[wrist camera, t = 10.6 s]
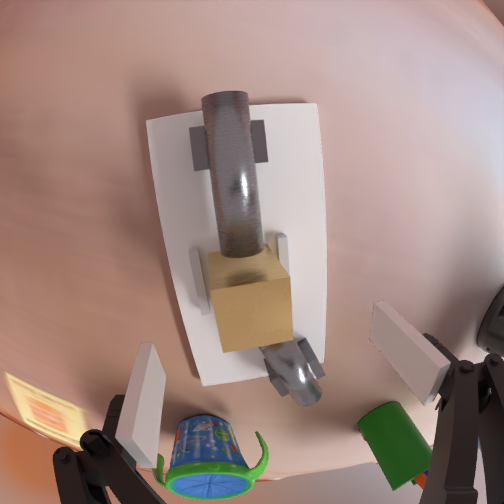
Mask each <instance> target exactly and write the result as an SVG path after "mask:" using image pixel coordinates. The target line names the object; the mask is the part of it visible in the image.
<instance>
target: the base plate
mask: <svg viewBox="0 0 504 504" xmlns="http://www.w3.org/2000/svg"><path fill="white" fill-rule="evenodd" d="M249 110H250V118H251V120H263V119H264V125H265V134H266V144H267V153H268V162H265V163H255V164H256V173H257V182H258V192H259V202H260V211H261V221H262V231H263V241H264V244H267V245H268V246H269V248H270V249H271V250H272V252H273V253H274V255H275V256H276V257H277V259H278V260H279V261H280V263H281V264H282V266H283V267H284V269H285V270H286V271H287V273H288V274H289V276H290V279H291V299H292V322H293V336H294V338H295V340H296V342H298V341H300V340H302V339H304V338H306V339H307V341H308V342H309V344H310V346H311V348H312V350H313V351H314V353H315V355H316V357H317V359H318V361H319V363H324V350H325V331H326V301H327V237H326V207H325V188H324V172H323V159H322V147H321V137H320V127H319V118H318V109H317V104H316V103H289V104H262V105H249ZM146 126H147V135H148V144H149V152H150V160H151V167H152V174H153V181H154V187H155V194H156V200H157V206H158V211H159V217H160V222H161V227H162V233H163V238H164V243H165V247H166V252H167V257H168V261H169V266H170V270H171V275H172V279H173V283H174V287H175V291H176V295H177V299H178V303H179V307H180V311H181V315H182V318H183V322H184V326H185V329H186V333H187V336H188V340H189V343H190V347H191V350H192V353H193V357H194V360H195V363H196V366H197V369H198V372H199V376H200V379H201V382H202V385H203V386H209V385H216V384H223V383H230V382H236V381H242V380H248V379H253V378H259V377H264V376H269V375H268V372H267V369H266V366H265V362H264V358H265V357H264V355H263V354H262V352H261V351H260V349H259V347H256V348H250V349H245V350H239V351H233V352H227V353H223V351H222V346H221V342H220V337H219V332H218V328H217V323H216V318H215V313H214V308H213V303H212V298H211V293H210V283H209V262H208V253H209V252H216V251H221V250H220V244H219V237H218V230H217V223H216V216H215V209H214V202H213V195H212V187H211V180H210V172H209V169H207V170H201V171H194V167H193V159H192V151H191V143H190V134H189V128H191V127H197V126H204V121H203V112H202V110H200V111H193V112H187V113H181V114H175V115H169V116H164V117H159V118H154V119H149V120H146Z"/></svg>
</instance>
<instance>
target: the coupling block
mask: <svg viewBox="0 0 504 504" xmlns="http://www.w3.org/2000/svg"><path fill="white" fill-rule="evenodd" d="M208 262H209V283H210V293H211V298H212V303H213V308H214V313H215V318H216V323H217V328H218V332H219V337H220V342H221V346H222V351H223V353H227V352H233V351H239V350H245V349H250V348H256V347H261V346H266V345H271V344H276V343H281V342H286V341H290V340H293V322H292V299H291V279H290V276H289V274H288V273H287V271H286V270H285V269H284V267H283V266H282V264H281V263H280V261H279V260H278V259H277V257H276V256H275V255H274V253H273V252H272V250H271V249H270V248H269V246H268V245H267V244H264V250H263V251H262V252H261V253H259V254H257V255H254V256H250V257H245V258H228V257H224V256H222V255H221V251H216V252H209V253H208Z"/></svg>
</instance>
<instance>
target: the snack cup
mask: <svg viewBox="0 0 504 504" xmlns="http://www.w3.org/2000/svg"><path fill="white" fill-rule="evenodd" d="M255 433H256V436H257V438H258V440H259V443H260V446H261V447H262V450H263V451H262V452H263V454H262V458H261V459H260V461H259V462H258V464H257V465H256V466H255V467H254V468H252V469H249V467H248V465H247V464H246V462H245V460H244V459H243V457H242V454H241V453H240V449H239V447H238V444H237V441H236V438H235V436H234V433H233V430H232V428H231V426H230V424H229V423H228V422H225V421H224V420H222V419H220V418H217V417H212V416H209V415H203V416H195V417H191V418H189V419H187V420H183V421H181V423H180V424H179V426H178V428H177V432H176V436H175V441H174V447H173V451H172V457H171V462H170V469H169V470H168V472H167V473H166V478H165V483H164V482H163V466H164V458H163V456H162V455H160V454H158V455H157V467H156V468H152V470H153V475H154V477H155V480H156V481H157V482H158V483H159V484H160V485H161V486H163V487H165V488H166V489H168V490H170V491H171V492H172V493H174V494H177V495H179V496H182V497H186V498H190V499H197V500H221V499H227V498H232V497H236V496H239V495H242V494H244V493H246V492H248V491H249V490H251V488H252V487H253V486H254V481H255V480H256V479H257V478H258V477H259V476H260V475H261V474H263V472H264V470H265V468H266V466H267V463H268V456H269V453H268V447H267V445H266V443H265V441H264V440H263V438H262V437H261V435H260V434H259V433H258V431H256V432H255Z"/></svg>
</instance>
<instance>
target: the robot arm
mask: <svg viewBox="0 0 504 504" xmlns="http://www.w3.org/2000/svg"><path fill="white" fill-rule="evenodd" d="M369 339H370V340H371V341H372V343H373V344H374V345H375V346H376V347H377V349H378V350H379V351H380V352H381V353H382V355H383V356H384V357H385V358H386V360H387V361H388V362H389V363H390V364H391V366H392V367H393V368H394V369H395V371H396V372H397V373H398V374H399V376H400V377H401V378H402V379H403V381H404V382H405V383H406V384H407V386H408V387H409V388H410V389H411V391H412V392H413V393H414V394H415V396H416V397H417V398H418V399H419V401H420V402H421V403H422V405H423V406H425V405H427V404H429V403H430V402H432V401H434V400H435V398H436V396H437V394H438V393H439V394H440V395H441V398H440V400H439V402H438V404H437V406H436V408H435V410H437V408H438V407H439V410H438V419H437V427H436V434H435V440H434V446H433V451H432V456H431V461H430V465H429V470H428V474H427V478H426V482H425V486H424V489H423V493H422V496H421V499H420V503H419V504H477V498H478V492H477V490H476V489H474V487H473V485H474V478H475V471H476V461H477V451H478V447H479V449H480V450H481V452H482V458H483V465H484V473H485V482H486V495H487V504H504V361H503V359H502V358H501V357H504V288H503V289H502V290H501V291H500V292H499V294H498V295H497V297H496V298H495V300H494V301H493V303H492V305H491V306H490V308H489V310H488V312H487V314H486V316H485V318H484V320H483V323H482V325H481V328H480V331H479V335H478V346H479V347H480V348H481V349H483V350H484V351H485V352H488V353H490V354H488V355H487V356H486V357H485V359H484V361H483V362H481V363H477V364H473V363H472V362H470V361H467V360H461V361H459V360H458V359H457V358H456V357H455V356H454V355H453V354H452V353H451V352H449V351H448V350H447V349H446V348H445V347H443V345H442V344H441V343H439V341H438V340H436V339H435V338H434V337H433V336H431V335H429V334H427V333H425V334H423V335H422V334H421V333H420V332H418V331H417V330H416V329H415V328H414V327H413V326H412V325H411V324H410V323H409V322H408V321H406V320H405V319H404V318H403V317H402V316H401V315H400V314H399V313H398V312H397V311H395V310H394V309H393V308H392V307H391V306H390V305H389V304H388V303H386V302H385V301H384V300H383V301H380V302H376V303H374V306H373V315H372V323H371V330H370V337H369ZM165 384H166V375H165V372H164V370H163V367H162V365H161V362H160V360H159V357H158V354H157V352H156V349H155V346H154V344H153V342H151V343H141V344H140V347H139V350H138V354H137V357H136V360H135V363H134V367H133V370H132V374H131V377H130V381H129V384H128V388H127V391H126V395H116V396H115V397H114V398H113V399H112V400H111V402H110V405H109V408H108V412H107V415H106V419H105V422H104V426H103V429H102V431H100V430H97V429H91V430H89V431H86V432H85V433H84V434H83V435H82V436H81V438H80V446H81V448H82V449H83V450H84V451H79V452H74V451H73V450H72V449H71V448H69V447H61V448H58V449H57V450H56V451H55V452H54V454H53V465H54V472H55V477H56V482H57V487H58V492H59V496H60V501H61V504H111V501H110V499H109V496H108V493H107V491H106V488H105V486H109V487H110V489H111V490H112V492H113V493H114V495H115V496H116V497H117V498H118V500H119V501H120V503H121V504H166V503H165V502H164V500H162V498H161V497H160V496H159V495H158V494H157V493H156V492H155V491H154V490H153V489H152V488H151V486H150V485H149V484H148V483H147V482H146V481H145V480H144V479H143V477H142V476H141V475H140V474H139V472H138V471H137V470H136V463H137V464H138V465H139V466H140V467H141V468H156V467H157V455H158V443H159V433H160V424H161V415H162V407H163V399H164V391H165ZM490 391H491V392H490Z"/></svg>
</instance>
